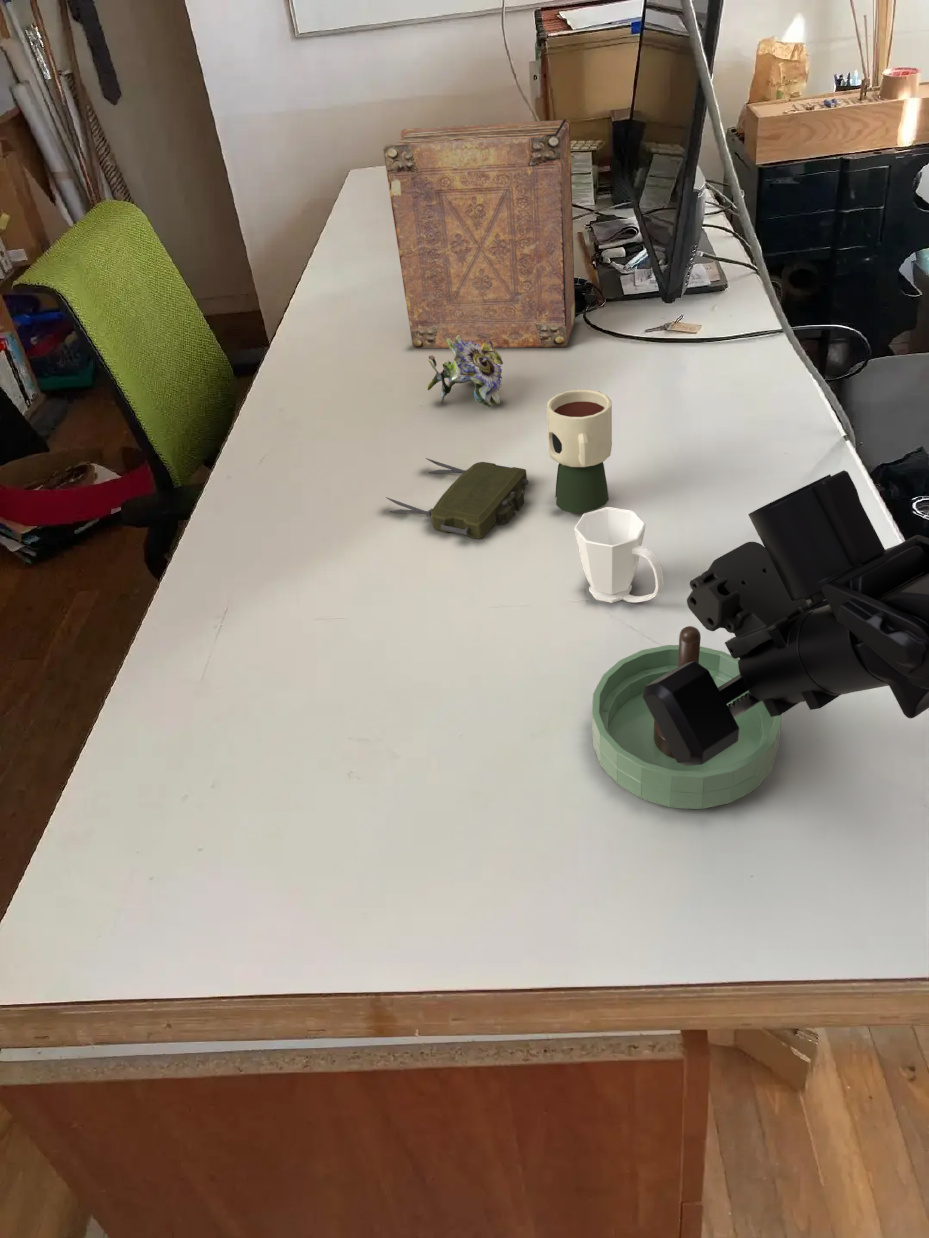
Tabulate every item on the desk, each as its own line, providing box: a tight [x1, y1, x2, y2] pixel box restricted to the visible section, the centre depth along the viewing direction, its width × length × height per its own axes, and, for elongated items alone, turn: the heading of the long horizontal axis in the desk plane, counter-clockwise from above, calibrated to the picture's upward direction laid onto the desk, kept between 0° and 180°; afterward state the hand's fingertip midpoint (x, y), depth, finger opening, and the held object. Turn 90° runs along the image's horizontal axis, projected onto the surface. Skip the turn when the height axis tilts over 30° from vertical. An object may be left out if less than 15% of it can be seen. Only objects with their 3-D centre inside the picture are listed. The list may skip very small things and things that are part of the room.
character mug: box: [546, 388, 613, 514], centre depth 106 cm, size 11×7×13 cm, turn 0°
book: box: [383, 118, 576, 349], centre depth 141 cm, size 25×9×30 cm, turn 77°
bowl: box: [591, 644, 783, 810], centre depth 78 cm, size 15×15×4 cm
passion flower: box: [427, 335, 504, 408], centre depth 131 cm, size 11×11×12 cm
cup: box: [573, 506, 664, 604], centre depth 93 cm, size 7×10×8 cm
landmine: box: [385, 457, 529, 540], centre depth 112 cm, size 14×3×15 cm
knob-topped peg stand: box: [654, 625, 702, 759], centre depth 75 cm, size 5×5×12 cm
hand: (701, 683), depth 74 cm, fingers open, 9 cm apart
